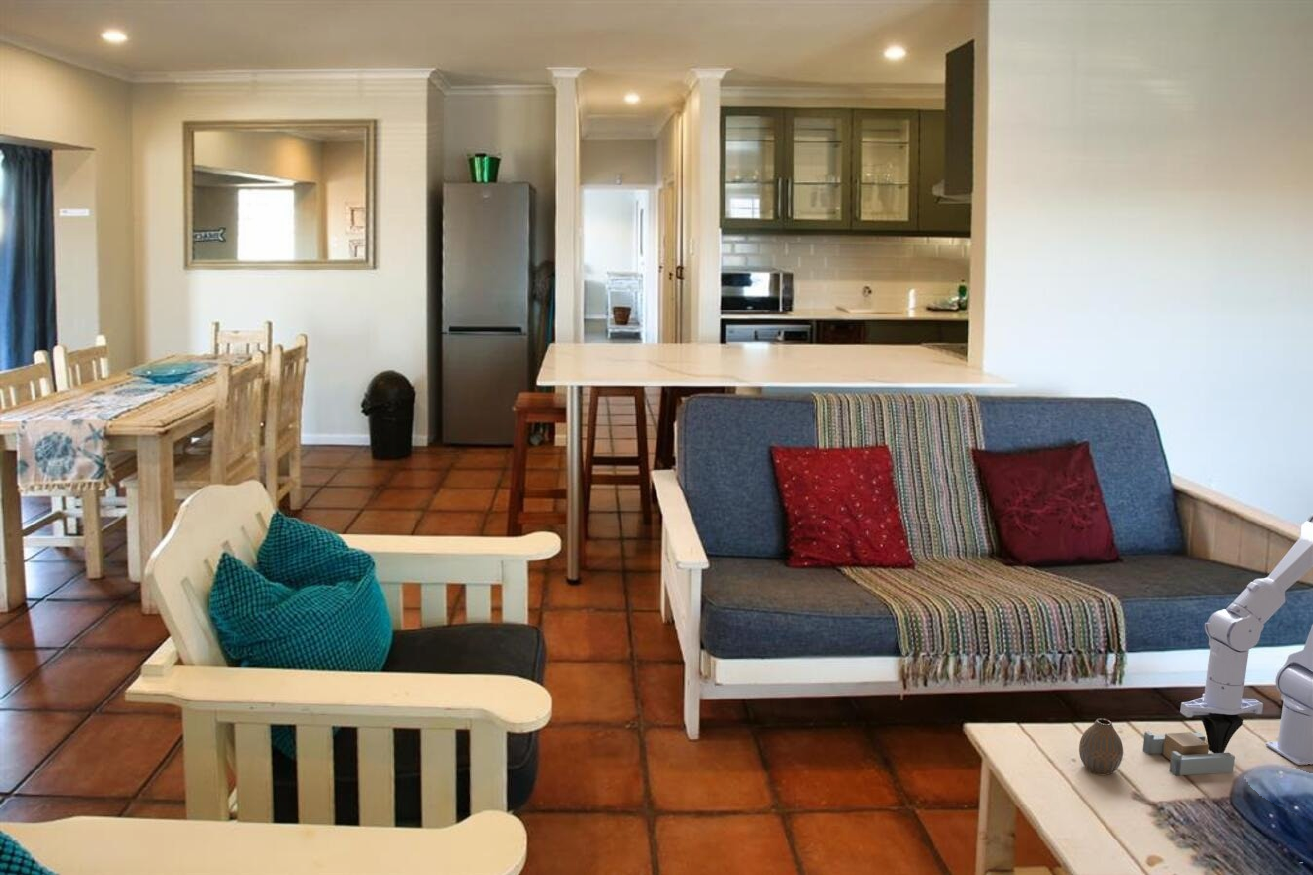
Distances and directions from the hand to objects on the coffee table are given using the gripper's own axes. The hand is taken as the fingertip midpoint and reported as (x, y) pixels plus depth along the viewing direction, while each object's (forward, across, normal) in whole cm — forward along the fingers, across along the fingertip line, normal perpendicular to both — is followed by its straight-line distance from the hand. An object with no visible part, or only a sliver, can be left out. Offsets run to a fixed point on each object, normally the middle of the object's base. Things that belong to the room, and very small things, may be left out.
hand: (1215, 752), depth 179 cm
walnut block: (+1, +6, 0) cm, 6 cm away
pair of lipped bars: (+1, +6, 0) cm, 6 cm away
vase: (+2, +23, +1) cm, 23 cm away
